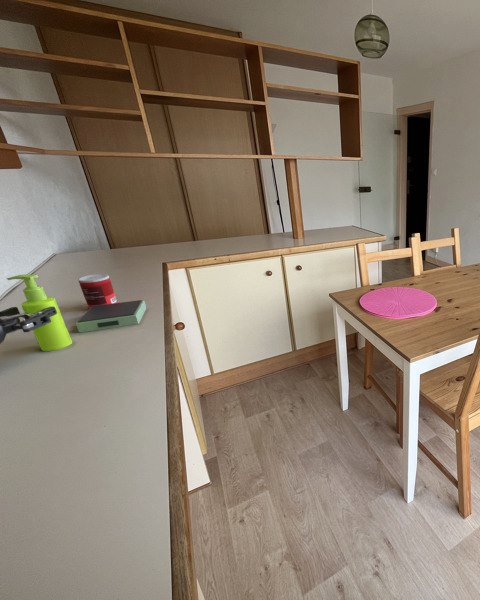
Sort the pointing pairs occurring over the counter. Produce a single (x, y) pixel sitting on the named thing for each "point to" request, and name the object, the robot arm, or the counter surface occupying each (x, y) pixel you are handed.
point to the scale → (111, 316)
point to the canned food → (97, 290)
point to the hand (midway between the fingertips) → (35, 310)
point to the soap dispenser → (55, 331)
